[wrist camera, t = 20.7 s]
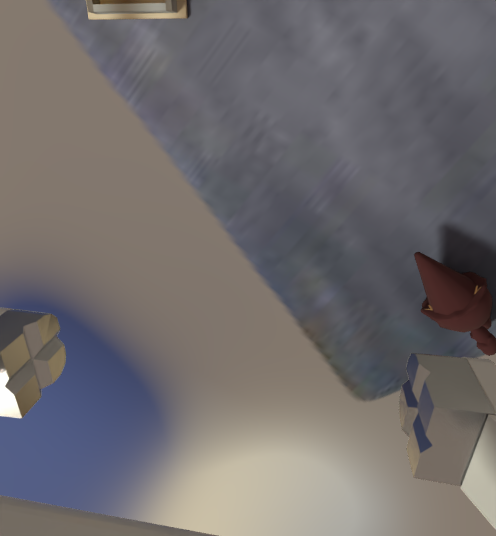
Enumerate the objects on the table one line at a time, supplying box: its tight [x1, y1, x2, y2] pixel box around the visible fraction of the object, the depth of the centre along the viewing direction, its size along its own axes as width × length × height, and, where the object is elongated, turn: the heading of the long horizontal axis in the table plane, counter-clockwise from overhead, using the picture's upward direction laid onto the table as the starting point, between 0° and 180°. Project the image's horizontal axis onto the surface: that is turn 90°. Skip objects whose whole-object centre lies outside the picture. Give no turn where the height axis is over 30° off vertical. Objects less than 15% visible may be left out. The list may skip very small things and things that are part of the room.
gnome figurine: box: [414, 252, 496, 356], centre depth 43 cm, size 7×7×15 cm
